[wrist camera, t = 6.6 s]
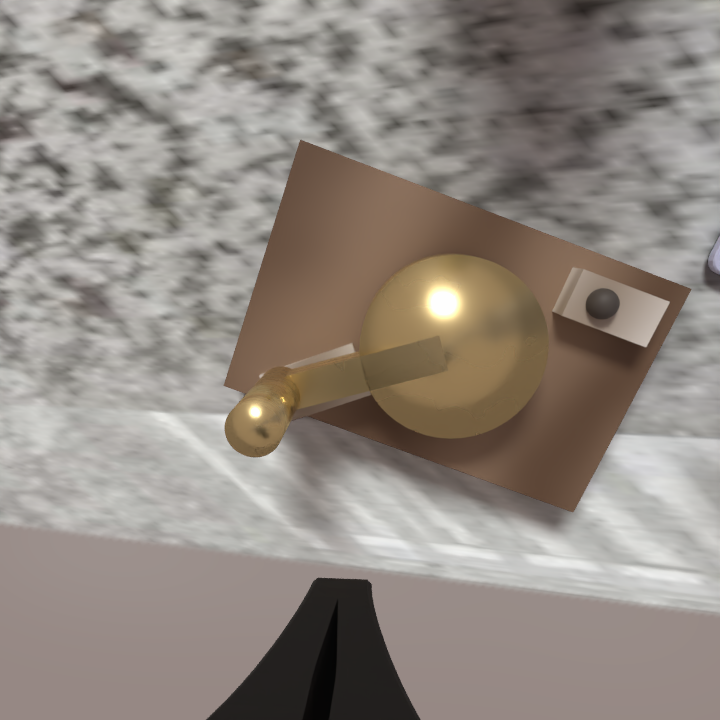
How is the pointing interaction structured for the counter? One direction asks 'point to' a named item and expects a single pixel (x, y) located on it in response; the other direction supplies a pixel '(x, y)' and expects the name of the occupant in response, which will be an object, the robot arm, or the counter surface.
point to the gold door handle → (419, 357)
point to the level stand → (458, 236)
